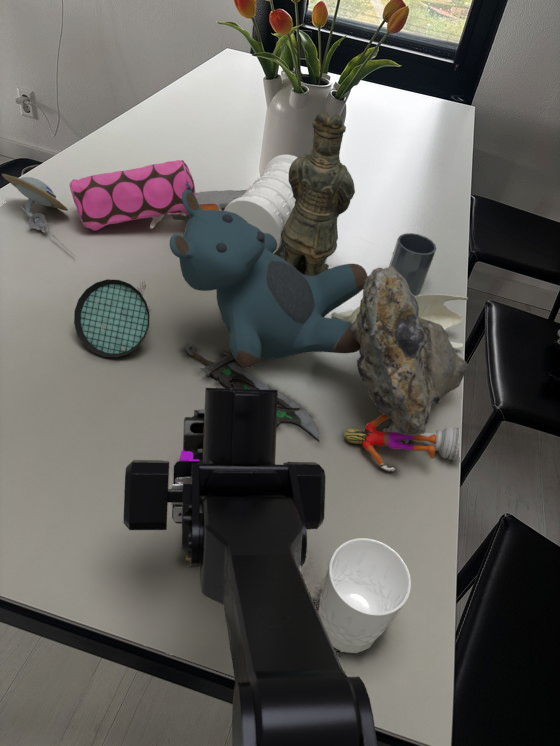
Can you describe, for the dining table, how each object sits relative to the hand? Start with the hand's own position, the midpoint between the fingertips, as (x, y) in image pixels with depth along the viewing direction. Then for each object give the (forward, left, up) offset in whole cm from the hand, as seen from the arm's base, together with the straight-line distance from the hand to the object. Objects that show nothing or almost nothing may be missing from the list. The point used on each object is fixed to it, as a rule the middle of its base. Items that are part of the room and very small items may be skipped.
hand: (219, 481), depth 67 cm
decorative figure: (+66, +37, -7) cm, 76 cm away
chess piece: (+16, -31, -5) cm, 35 cm away
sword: (+25, -4, -7) cm, 27 cm away
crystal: (+6, +3, -8) cm, 10 cm away
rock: (+22, -15, +1) cm, 26 cm away
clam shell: (+43, -22, +1) cm, 49 cm away
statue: (+53, -8, -7) cm, 54 cm away
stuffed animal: (+33, -10, -3) cm, 35 cm away
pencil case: (+62, +26, +3) cm, 67 cm away
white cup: (-10, -16, -8) cm, 20 cm away
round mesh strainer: (+27, +19, -2) cm, 34 cm away
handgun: (+61, +2, -6) cm, 62 cm away
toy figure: (+15, -21, -6) cm, 27 cm away
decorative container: (+55, +3, -1) cm, 55 cm away
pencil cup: (+55, -26, -7) cm, 62 cm away
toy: (+51, +40, -8) cm, 65 cm away
